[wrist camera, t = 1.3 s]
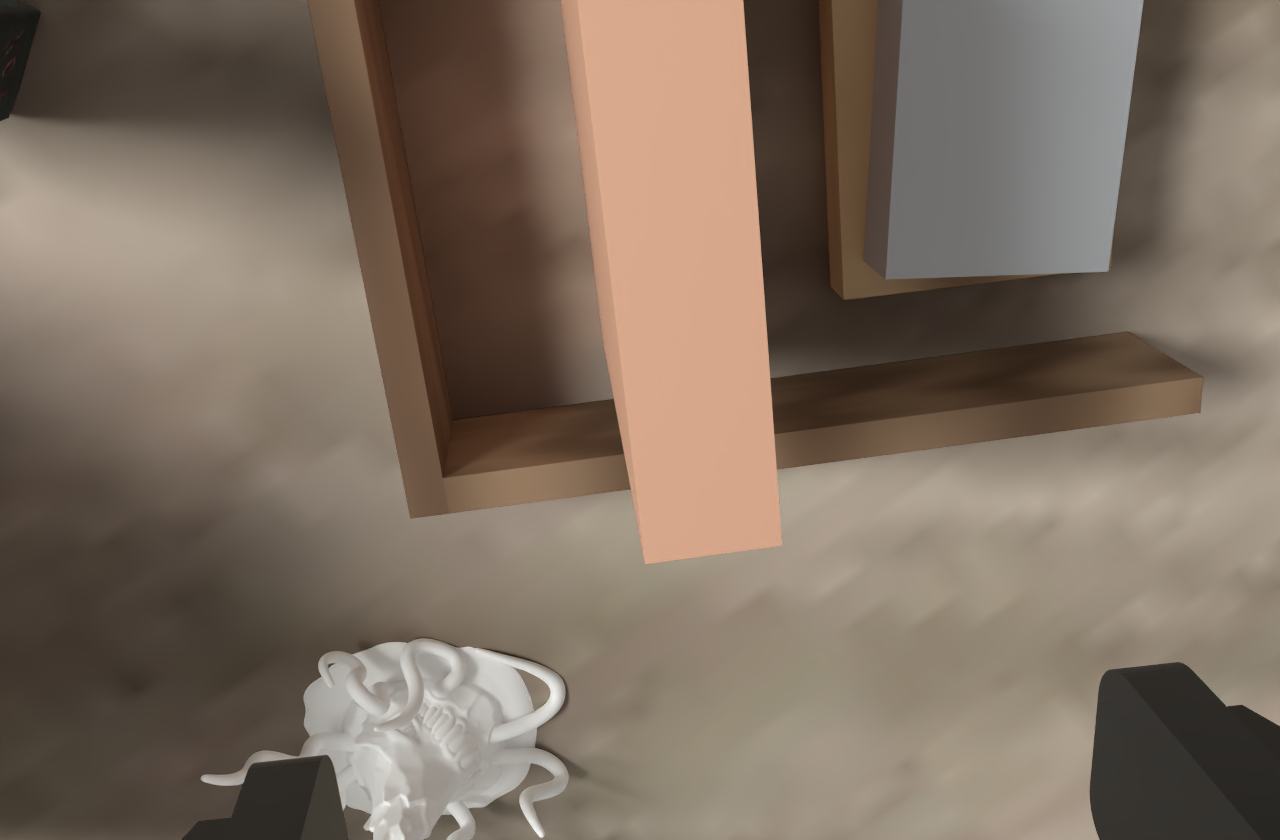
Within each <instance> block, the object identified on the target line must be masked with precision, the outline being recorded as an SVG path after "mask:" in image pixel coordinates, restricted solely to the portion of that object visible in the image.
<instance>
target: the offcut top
mask: <svg viewBox="0 0 1280 840" xmlns="http://www.w3.org/2000/svg"><path fill="white" fill-rule="evenodd" d="M1143 1H1144V0H878V12H877V30H876V48H875V67H874V85H873V103H872V121H871V139H870V158H869V176H868V194H867V212H866V231H865V249H864V261H865V262H866V263H867V264H868V265H869V266H870V267H872V268H873V269H874V270H875V271H876V272H877V273H879V274H880V275H881V276H882V277H883V278H885V279H913V278H942V277H970V276H999V275H1027V274H1056V273H1084V272H1108V270H1109V262H1110V254H1111V246H1112V239H1113V231H1114V223H1115V216H1116V208H1117V200H1118V193H1119V185H1120V177H1121V170H1122V162H1123V154H1124V147H1125V139H1126V131H1127V124H1128V116H1129V108H1130V101H1131V93H1132V85H1133V78H1134V70H1135V62H1136V55H1137V47H1138V39H1139V32H1140V24H1141V16H1142V9H1143Z"/></svg>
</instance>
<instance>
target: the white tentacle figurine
mask: <svg viewBox="0 0 1280 840" xmlns="http://www.w3.org/2000/svg"><path fill="white" fill-rule="evenodd" d="M330 663H336V664H334V665H332V666H330V667H329V669H328V664H330ZM511 666H512V667H511ZM513 667H515V668H518V669H521V670H524V671H526V672H529V673H531V674H533V675H535V676H537V677H538V678H540V679H542V680H543V681H545V682H546V683H547V684H548V686H549V688H550V691H551V695H550V698H549V700H548V701H547V702H546V703H545V704H544V705H543V706H542V707H540V708H539V709H537V710H536V711H534V708H533V705H532V701H531V698H530V695H529V692H528V690H527V688H526V686H525V683H524V681H523V679H522V678H521V676H520V675H519V673H518V672H517V671H516V670H515V669H514V668H513ZM318 668H319V672H320V674H321V676H322V677H320V678H319V679H317V680H316V681H314V682H313V683H311V684H310V685H309V686H308V688H307V689H306V691H305V693H304V697H303V699H304V704H305V709H306V714H305V718H304V727H305V729H306V730H307V732H308V734H309V736H310V737H309V738H308V739H307V740H306V741H305V743H304V745H303V747H302V750H301V753H300V755H299V756H291V755H287V754H284V753H280V752H276V751H270V750H263V751H258V752H256V753H254V754H253V755H251V756H250V757H249V758H248V760H247V761H246V763H245V765H244V767H243V768H242V769H241V770H240V771H238V772H236V773H232V774H225V775H212V774H205V775H202V776H201V780H202V781H203V782H206V783H209V784H214V785H221V786H234V785H239V784H243V783H244V780H245V777H246V774H247V771H248V769H249V767H250V766H251V765H252V764H253V763H257V762H266V761H275V760H284V759H293V758H302V757H311V756H320V755H328V756H329V757H330V758H331V760H332V763H333V766H334V769H335V774H336V778H337V783H338V789H339V794H340V799H341V804H342V809H343V810H344V809H345V806H346V805H347V806H349V807H350V808H353V809H358V810H362V811H365V812H367V813H369V814H371V816H370V818H369V819H368V821H367V822H366V823H365V825H364V827H363V828H364V829H365V830H366V831H368V830H370V832H373V840H423V839H425V838H428V837H429V836H430V835H431V831H432V829H433V827H434V826H435V825H436V823H437V821H438V819H439V818H440V816H441V815H451V814H452V815H453V816H454V818H455V819H456V820H457V822H458V823H459V825H460V829H459V830H456V831H454V832H453V833H451V834H450V835H449V836H448V838H447V840H471V839H472V838H473V836H474V834H475V829H476V827H475V821H474V819H473V816H472V814H471V813H470V811H469V810H468V809H469V808H474V807H485V806H487V805H488V804H490V803H491V802H492V801H494V800H495V799H497V798H498V797H500V796H502V795H504V794H506V793H508V792H510V791H512V790H513V789H515V788H516V787H517V786H518V785H519V784H520V783H521V782H522V781H523V780H524V779H525V777H526V775H527V774H528V771H529V769H530V765H531V763H532V764H537V765H540V766H542V767H544V768H546V769H547V770H549V771H550V772H551V773H552V774H553V775H554V777H555V778H554V779H553V780H551V781H548V782H545V783H541V784H537V785H533V786H530V787H528V788H526V789H525V790H523V791H522V793H521V795H520V798H519V803H520V807H521V809H522V811H523V813H524V815H525V817H526V818H527V820H528V822H529V823H530V825H531V826H532V828H533V829H534V830H535V832H536V833H537V834H538V836H539V837H541V838H543V837H544V836H545V832H544V830H543V828H542V826H541V824H540V822H539V820H538V817H537V815H536V813H535V810H534V807H533V802H535V801H539V800H543V799H547V798H551V797H554V796H556V795H558V794H560V793H561V792H563V791H564V790H565V788H566V787H567V785H568V781H569V774H568V771H567V769H566V767H565V765H564V764H563V763H562V762H561V760H559V759H558V758H557V757H556V756H554V755H553V754H551V753H549V752H547V751H544V750H542V749H538V748H535V743H536V737H537V727H539V726H540V725H542V724H544V723H545V722H547V721H548V720H549V719H551V718H552V717H553V716H554V715H555V714H556V713H557V712H558V711H559V709H560V708H561V706H562V705H563V702H564V700H565V694H566V691H565V685H564V682H563V680H562V678H561V677H560V676H559V675H558V674H557V673H556V672H554V671H552V670H551V669H549V668H547V667H545V666H542V665H540V664H537V663H535V662H532V661H528V660H525V659H521V658H516V657H512V656H508V655H505V654H501V653H497V652H493V651H490V650H486V649H482V648H476V649H475V648H472V647H462V648H457V647H453V646H451V645H449V644H447V643H444V642H442V641H438V640H434V639H429V638H420V639H416V640H413V641H411V642H409V643H403V642H389V643H383V644H380V645H377V646H374V647H372V648H370V649H367V650H364V651H361V652H358V653H355V654H352V655H351V654H349V653H346V652H342V651H332V652H328V653H326V654H324V655H323V656H322V657H321V658H320V660H319V663H318Z"/></svg>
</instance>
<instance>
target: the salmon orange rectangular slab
mask: <svg viewBox="0 0 1280 840" xmlns="http://www.w3.org/2000/svg"><path fill="white" fill-rule="evenodd" d="M561 7H562V15H563V23H564V31H565V39H566V47H567V55H568V63H569V71H570V79H571V87H572V95H573V103H574V111H575V119H576V127H577V135H578V143H579V151H580V159H581V167H582V175H583V183H584V191H585V199H586V207H587V215H588V223H589V231H590V239H591V247H592V255H593V263H594V271H595V279H596V287H597V295H598V303H599V311H600V319H601V328H602V336H603V344H604V349H605V355H606V360H607V365H608V370H609V376H610V381H611V386H612V392H613V397H614V402H615V408H616V413H617V418H618V423H619V429H620V434H621V439H622V445H623V450H624V455H625V461H626V466H627V471H628V476H629V482H630V487H631V492H632V498H633V503H634V508H635V514H636V519H637V524H638V530H639V535H640V540H641V545H642V551H643V556H644V561H645V564H650V563H658V562H665V561H672V560H680V559H687V558H694V557H701V556H709V555H716V554H723V553H731V552H738V551H745V550H753V549H760V548H767V547H774V546H782V536H781V522H780V508H779V494H778V480H777V466H776V452H775V438H774V424H773V410H772V396H771V382H770V368H769V354H768V340H767V326H766V312H765V298H764V284H763V270H762V256H761V242H760V228H759V214H758V200H757V186H756V172H755V158H754V144H753V130H752V116H751V102H750V88H749V74H748V60H747V46H746V32H745V18H744V4H743V0H561Z"/></svg>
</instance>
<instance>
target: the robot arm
mask: <svg viewBox="0 0 1280 840" xmlns="http://www.w3.org/2000/svg"><path fill="white" fill-rule="evenodd" d="M1090 803H1091V811H1092V816H1093V820H1094V824H1095V828H1096V831H1097V834H1098V836H1099V839H1100V840H1280V726H1278V725H1276V724H1275V723H1273V722H1271V721H1269V720H1268V719H1266V718H1264V717H1262V716H1261V715H1259V714H1257V713H1255V712H1254V711H1252V710H1250V709H1248V708H1247V707H1245V706H1243V705H1237V706H1228V707H1226V706H1225V704H1224V703H1223V702H1222V701H1221V700H1220V699H1219V698H1218V697H1217V696H1216V695H1215V694H1214V693H1213V692H1212V691H1211V690H1210V689H1209V688H1208V687H1207V685H1206V684H1205V683H1204V682H1203V681H1202V680H1201V679H1200V678H1199V677H1198V676H1197V675H1196V674H1195V673H1194V672H1193V671H1192V670H1191V669H1190V668H1189V667H1188V666H1186V665H1185V664H1183V663H1179V662H1176V663H1167V664H1158V665H1149V666H1140V667H1131V668H1122V669H1113V670H1108V671H1106V672H1105V674H1104V675H1103V677H1102V679H1101V682H1100V686H1099V693H1098V704H1097V715H1096V726H1095V737H1094V748H1093V759H1092V770H1091V781H1090ZM182 840H349V839H348V834H347V829H346V824H345V819H344V814H343V809H342V804H341V799H340V794H339V789H338V783H337V778H336V774H335V769H334V766H333V763H332V760H331V758H330V757H329V756H328V755H320V756H311V757H302V758H293V759H284V760H275V761H266V762H257V763H253V764H252V765H251V766H250V767H249V769H248V771H247V774H246V777H245V780H244V783H243V785H242V788H241V791H240V794H239V797H238V800H237V803H236V806H235V809H234V812H233V815H232V817H231V818H224V819H215V820H206V821H198V822H197V824H196V825H195V826H194V827H193V828H192V829H191V830H190V831H189V832H188V833H187V834H186V835H185V837H184V838H183V839H182Z"/></svg>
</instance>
